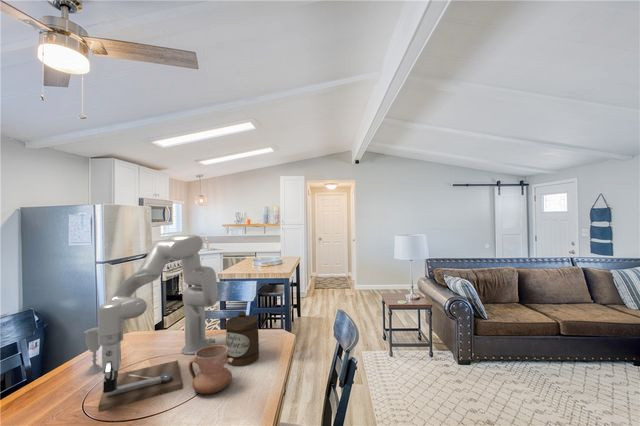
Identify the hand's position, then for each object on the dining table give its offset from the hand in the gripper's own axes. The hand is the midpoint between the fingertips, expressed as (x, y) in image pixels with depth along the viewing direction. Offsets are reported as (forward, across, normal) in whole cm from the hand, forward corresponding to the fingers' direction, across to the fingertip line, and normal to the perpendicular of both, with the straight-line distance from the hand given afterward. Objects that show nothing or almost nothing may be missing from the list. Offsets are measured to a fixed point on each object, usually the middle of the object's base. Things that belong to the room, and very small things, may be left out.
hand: (110, 384), depth 106 cm
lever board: (+6, +6, -10) cm, 13 cm away
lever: (+3, 0, -9) cm, 10 cm away
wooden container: (+6, +7, -50) cm, 51 cm away
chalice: (+6, +30, +9) cm, 32 cm away
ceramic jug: (+6, -10, -33) cm, 35 cm away
